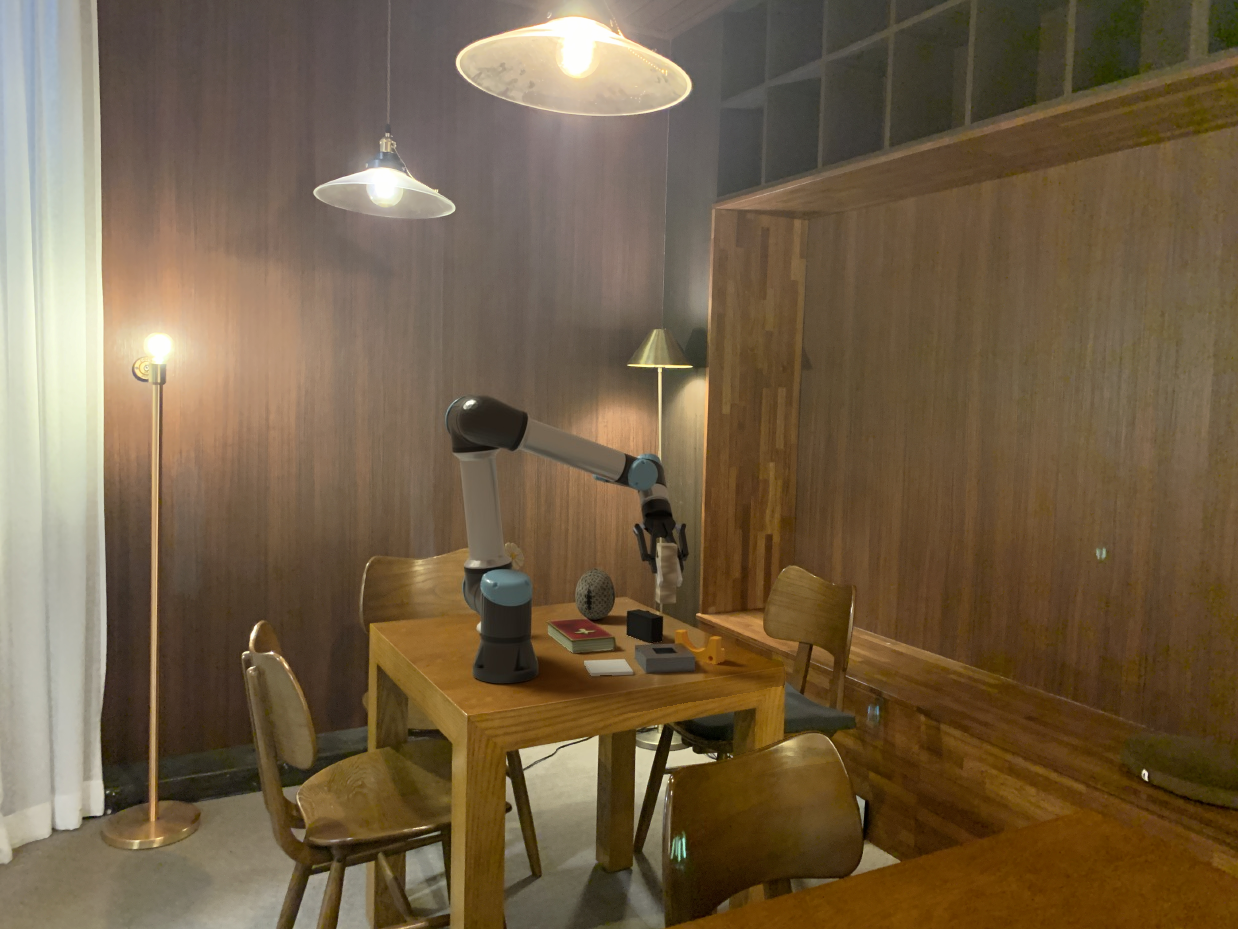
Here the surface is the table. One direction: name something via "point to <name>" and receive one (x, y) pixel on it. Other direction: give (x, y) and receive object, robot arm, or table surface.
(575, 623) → the hardcover book
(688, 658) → the socket block
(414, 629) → the table surface
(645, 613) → the black rectangular block
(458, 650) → the table surface
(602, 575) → the decorative egg
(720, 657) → the pipe clamp
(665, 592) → the birch peg
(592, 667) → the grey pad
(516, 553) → the flower in vase
